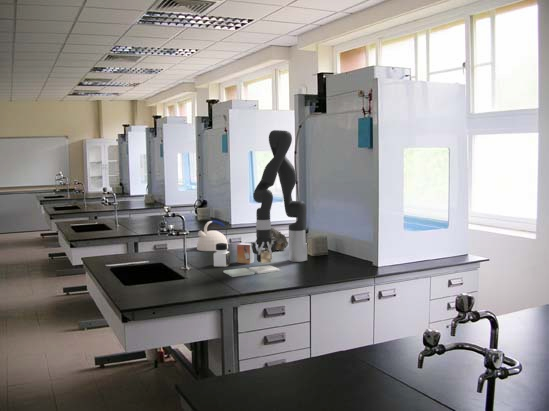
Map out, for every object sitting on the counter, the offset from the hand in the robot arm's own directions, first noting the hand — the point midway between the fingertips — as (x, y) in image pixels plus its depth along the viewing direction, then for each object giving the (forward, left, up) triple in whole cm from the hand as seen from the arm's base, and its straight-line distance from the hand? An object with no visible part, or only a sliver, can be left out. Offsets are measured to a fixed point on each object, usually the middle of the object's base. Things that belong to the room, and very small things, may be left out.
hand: (264, 261), depth 284 cm
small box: (0, -24, -5) cm, 25 cm away
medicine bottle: (+14, -24, -5) cm, 28 cm away
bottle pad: (+14, 0, -5) cm, 15 cm away
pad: (0, 0, -5) cm, 5 cm away
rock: (-31, -53, -5) cm, 61 cm away
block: (0, 0, 0) cm, 0 cm away
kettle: (0, -79, -5) cm, 79 cm away
